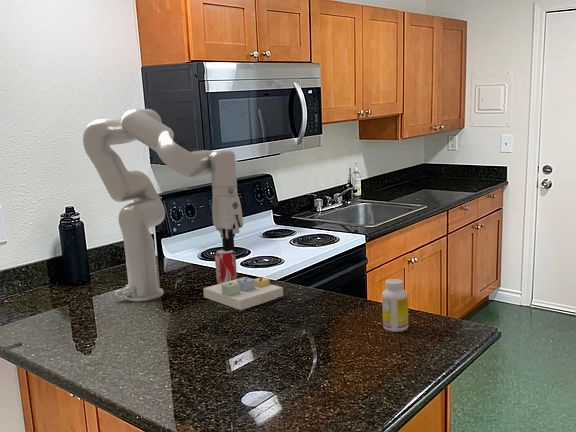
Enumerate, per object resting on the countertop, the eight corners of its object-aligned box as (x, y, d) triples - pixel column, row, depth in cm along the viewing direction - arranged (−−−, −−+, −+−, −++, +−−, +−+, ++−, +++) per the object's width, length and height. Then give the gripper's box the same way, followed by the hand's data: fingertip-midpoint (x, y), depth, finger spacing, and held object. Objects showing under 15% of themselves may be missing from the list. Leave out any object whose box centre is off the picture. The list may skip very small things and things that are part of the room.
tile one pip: (229, 299, 181) (228, 286, 180) (222, 296, 184) (221, 283, 183) (240, 296, 184) (239, 283, 183) (232, 293, 187) (231, 281, 186)
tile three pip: (260, 293, 189) (259, 281, 188) (252, 291, 192) (252, 279, 191) (270, 291, 192) (269, 278, 191) (262, 288, 195) (261, 276, 194)
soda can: (234, 287, 201) (231, 253, 199) (214, 287, 202) (211, 253, 200) (239, 281, 207) (237, 248, 205) (220, 281, 209) (218, 248, 207)
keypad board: (240, 310, 177) (239, 300, 176) (204, 297, 192) (203, 288, 191) (283, 296, 187) (282, 287, 187) (245, 285, 202) (245, 276, 202)
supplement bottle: (410, 324, 157) (409, 278, 155) (406, 333, 151) (405, 285, 149) (385, 322, 160) (383, 277, 157) (380, 331, 154) (379, 284, 151)
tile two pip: (245, 294, 185) (244, 281, 184) (237, 292, 188) (236, 279, 187) (255, 291, 187) (254, 279, 187) (247, 289, 190) (246, 276, 190)
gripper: (249, 191, 175) (253, 251, 179) (220, 188, 187) (224, 244, 190) (229, 195, 171) (233, 256, 174) (200, 191, 182) (205, 249, 185)
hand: (228, 250), depth 182 cm, fingers closed
